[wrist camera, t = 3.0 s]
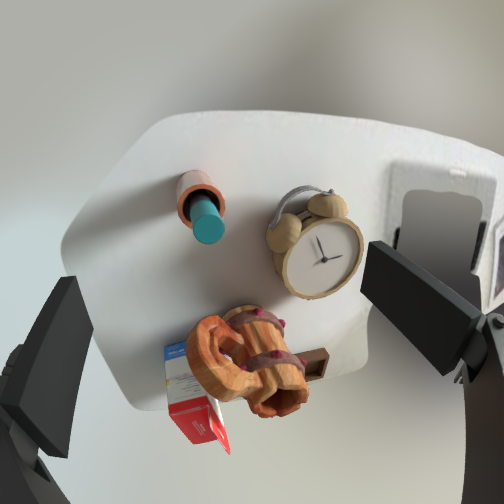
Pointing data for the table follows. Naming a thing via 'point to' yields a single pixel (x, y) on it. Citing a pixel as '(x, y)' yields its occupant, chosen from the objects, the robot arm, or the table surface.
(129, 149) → the table surface
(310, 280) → the alarm clock
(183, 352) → the ink box
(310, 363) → the pen tray
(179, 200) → the pen pot
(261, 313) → the mug
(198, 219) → the marker
